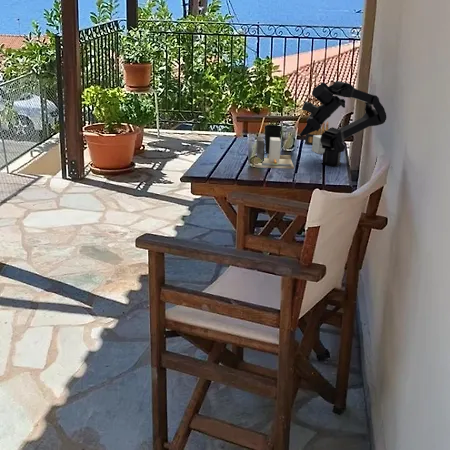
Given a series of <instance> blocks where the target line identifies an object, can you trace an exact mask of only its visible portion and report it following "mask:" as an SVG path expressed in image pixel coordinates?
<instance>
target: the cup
mask: <svg viewBox="0 0 450 450" xmlns="http://www.w3.org/2000/svg"><path fill="white" fill-rule="evenodd" d="M282 130H283V126H282V125H278V124H265V125H264V143H265V149H264V153H265V152H266V153H267V155H269V147H270V137H277V138H280V139H281V137H282ZM266 153H265V154H266Z"/></svg>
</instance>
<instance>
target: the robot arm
mask: <svg viewBox="0 0 450 450" xmlns="http://www.w3.org/2000/svg"><path fill="white" fill-rule="evenodd" d="M311 94H312V96H313V97H314V99H315V100H317V101H318V102H319V103H320V104H321V105H320V104H319V105H318V106H317V105H315V104H314V103H312V102H311V101H304V102H303V103H304V104H303V106H302V107H301V110H303V112H304V111H305V112H308V113H310V114H309V115H308V117H307V118H306V125H305V126H304V128H303V129H302V130H301V132H300V133H299V136H300V137H304V136H306V134H309V133H311V132H313V131H318V130H319V129H320V128H321V129H322V124H323V123H324V122H325V123H326V121H327V120H328V119H329V118H330V117H331V116H332V115H333V114H334V113H335V112H336V111H337V110H338V109H339V108H340V107H342V108H343V109H345V108H346V100H345V99H344V98H350V99H351V98H352V99H355V100H357V101H361V102H364V104H365V106H364V114H363V116H362V117H360V118H358V119H357V120H354V121H353V122H351V123H349V124H346V125H344V126H343V127H341V128H336V127H333V126H332V127H329V128H328V130H325V132H324V133H323V134H322V136H321V139H320V141H321V144H322V148H324V149H325V152H324V153H323V154H322V160H321V161H322V163H321V165H326V166H330V167H338V166H340V165H341V164H342V162H341V158H342V156H341V155H342V154H341V153H342V152H344V151H345V149H346V146H345V144H344V141H345V140H346V139H349V137H352V136H354V135H355V134H358V133H359V132H361V131H364V130H366V129H367V128H368V127H375V126H377V127H378V126H380V125H384V124H385V122H386V120H387V112H386V110H385V107H384V106H383V104H382V103H381V101H380V98H379V97H378V96H377V95H375V94H372V93H367V92H365V91H362V90H360V89H356V88H355V87H354V86H353V85H352V84H351V83H349V82H344V81H339V80H336V81H335V82H333V84H331V85H329V86H328V84H327V83H326V82H320V84H318V85H316V86H315V87H314V88H313V89H312V91H311ZM340 97H341V98H340Z"/></svg>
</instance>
